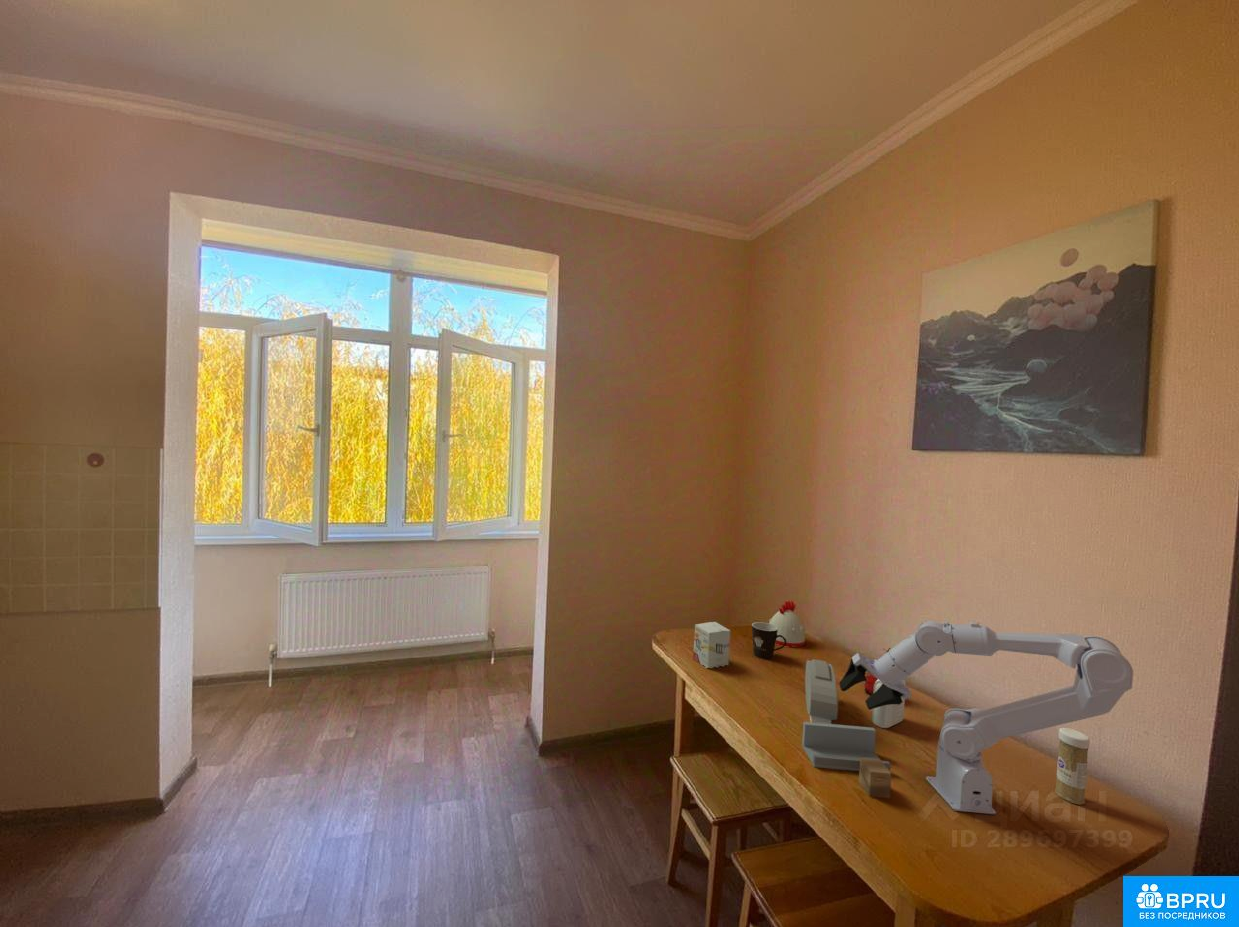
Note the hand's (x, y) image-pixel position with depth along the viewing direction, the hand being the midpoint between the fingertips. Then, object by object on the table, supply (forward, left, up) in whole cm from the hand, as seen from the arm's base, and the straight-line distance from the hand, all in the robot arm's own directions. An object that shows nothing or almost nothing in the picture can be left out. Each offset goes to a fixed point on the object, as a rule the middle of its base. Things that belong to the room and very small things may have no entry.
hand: (854, 696), depth 108 cm
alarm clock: (+18, +1, -13) cm, 22 cm away
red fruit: (+31, -21, -13) cm, 39 cm away
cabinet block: (-12, +1, -13) cm, 18 cm away
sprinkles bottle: (-9, -40, -13) cm, 43 cm away
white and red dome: (+71, -6, -13) cm, 72 cm away
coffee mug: (+53, +6, -13) cm, 54 cm away
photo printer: (+16, -16, -13) cm, 26 cm away
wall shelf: (-3, +3, -13) cm, 14 cm away
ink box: (+45, +26, -13) cm, 53 cm away
